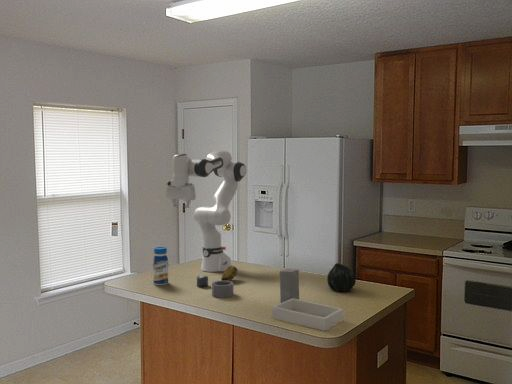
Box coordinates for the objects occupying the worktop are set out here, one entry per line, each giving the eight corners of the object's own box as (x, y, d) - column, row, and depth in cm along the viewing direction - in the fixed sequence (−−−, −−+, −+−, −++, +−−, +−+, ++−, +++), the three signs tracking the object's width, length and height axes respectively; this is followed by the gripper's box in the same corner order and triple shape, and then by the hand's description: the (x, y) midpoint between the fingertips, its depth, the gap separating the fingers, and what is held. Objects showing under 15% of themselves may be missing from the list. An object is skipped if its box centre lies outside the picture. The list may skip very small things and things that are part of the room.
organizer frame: (292, 308, 227) (292, 298, 226) (343, 320, 211) (343, 308, 210) (272, 318, 214) (272, 306, 214) (324, 330, 198) (324, 318, 198)
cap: (202, 284, 271) (202, 274, 271) (210, 285, 267) (210, 276, 267) (194, 286, 266) (194, 276, 266) (202, 288, 263) (202, 278, 262)
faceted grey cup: (221, 290, 258) (221, 279, 257) (238, 294, 251) (237, 282, 250) (207, 295, 249) (207, 283, 248) (223, 299, 242) (223, 287, 242)
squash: (365, 280, 256) (348, 256, 262) (349, 287, 245) (332, 262, 251) (348, 294, 264) (332, 270, 270) (332, 301, 254) (316, 277, 259)
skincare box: (291, 305, 232) (292, 272, 230) (278, 303, 235) (278, 270, 234) (300, 301, 239) (300, 269, 238) (287, 298, 243) (287, 267, 241)
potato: (215, 282, 274) (215, 268, 274) (231, 278, 284) (231, 264, 283) (226, 285, 269) (225, 270, 268) (241, 280, 279) (241, 266, 278)
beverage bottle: (170, 281, 276) (169, 246, 275) (166, 285, 268) (165, 249, 266) (155, 281, 277) (155, 246, 275) (151, 285, 268) (150, 249, 267)
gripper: (198, 183, 270) (198, 208, 271) (172, 182, 282) (173, 205, 283) (189, 183, 265) (190, 209, 266) (164, 182, 277) (164, 206, 278)
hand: (181, 207), depth 275 cm, fingers open, 8 cm apart
